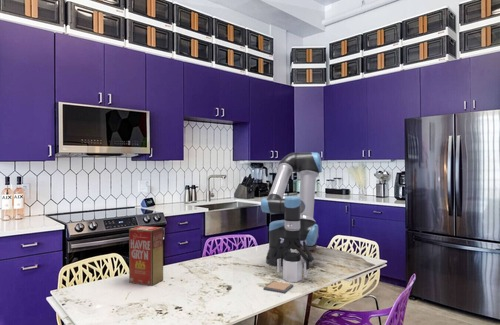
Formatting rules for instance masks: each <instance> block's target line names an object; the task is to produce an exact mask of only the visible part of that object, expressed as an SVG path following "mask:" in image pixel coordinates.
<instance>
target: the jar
mask: <svg viewBox="0 0 500 325" xmlns="http://www.w3.org/2000/svg"><path fill="white" fill-rule="evenodd" d="M282 279H283V280H284V281H285V282H287V283H289V282H290V283H298V282H299V281H302V280H303V260H302V256H301V255H300V253H299V252H295V251H291V252H287V253H284V259H283V266H282Z"/></svg>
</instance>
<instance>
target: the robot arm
mask: <svg viewBox="0 0 500 325" xmlns="http://www.w3.org/2000/svg"><path fill="white" fill-rule="evenodd" d="M322 165H323V164H322V158H321V155H320V153H319V152H312V151H311V152H290V153H288V154H287V155H285V156H284V157H282V159H281V160H279V163H278V164H277V166H276V171H277V172H276V175H275V177H274V180H273V182H272V186H271V187H270V190H269V194H268V197H263V198H262V199H261V200H260V209H261V212H262V213H265V214H266V213H267V214H284V219H281V220H278V219H277V220H274V221H271V222H270V223H269V226H268V250H267V254H266V257H265V263H266V264H267V265H270V266H276V273H277V274H280V273H281V272H282V267H283V259H284V253H287V252H292V250H296V251H297V253H300V255H301V258H302V259H303V261H304V262H303V265H304V266H303V267H304V268H303V272H304V273H303V276H304V278H307V276H308V275H309V271H308V270H310V267H311V266H310V263H312V262H313V261H314V257H313V255H312V251H311V252H310V250H309V248H308V246H313V245H314V244H315V243H316V244H317V242H316V240H317V241H318V238H317V236H318V235H319V225H318V224H317V222H316V220H315V218H314V211H315V210H314V208H315V194H316V180H317V178H318V177H319V174H320V173H322V172H323V166H322ZM294 173H298V176H299V177H300V182H299V192H298V193H299V195H298V196H286V197H285V198H284V195H285V192H286V189H287V186H288V183H289V181H290V180H289V179H290V178H291V175H292V176H293V174H294ZM300 245H303V247H304V250H305V251H303V250H302V248H301V246H300Z"/></svg>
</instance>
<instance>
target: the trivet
mask: <svg viewBox="0 0 500 325" xmlns="http://www.w3.org/2000/svg"><path fill="white" fill-rule="evenodd" d="M293 287H294V284H290V283H288V282H287V283H286V282H285V283H284V282H282V281H281V282H280V281H271V282H270V283H268V284H267V285H265V286H264V287H263V290H264V291H269V292H275V293H280V294H286V293H287V292H288V291H290V290H292V288H293Z"/></svg>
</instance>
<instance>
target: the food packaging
mask: <svg viewBox="0 0 500 325" xmlns="http://www.w3.org/2000/svg"><path fill="white" fill-rule="evenodd" d="M128 249H129V250H128V256H129V258H128V259H129V260H128V264H129V265H128V271H129V272H128V274H129V275H128V277H129V279H128V280H129V284H130V283H131V284H138V285H142V286H143V285H144V286H150V287H151V286H152V287H153V286H155V285H156V284H159V283H161V282H162V281H164V227H163V226H162V227H160V226H159V227H158V226H145V225H138V226H135V227H132V228H129V229H128Z"/></svg>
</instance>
